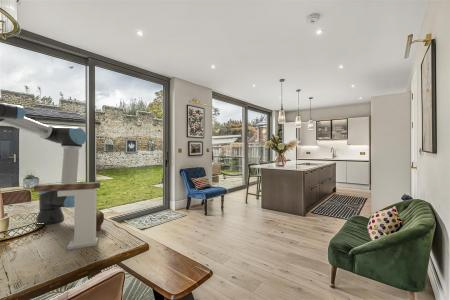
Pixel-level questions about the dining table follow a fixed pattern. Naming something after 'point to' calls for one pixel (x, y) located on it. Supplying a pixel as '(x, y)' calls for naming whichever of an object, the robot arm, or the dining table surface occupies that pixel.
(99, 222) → the shell
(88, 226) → the white upright panel
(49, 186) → the lever
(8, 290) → the dining table surface
